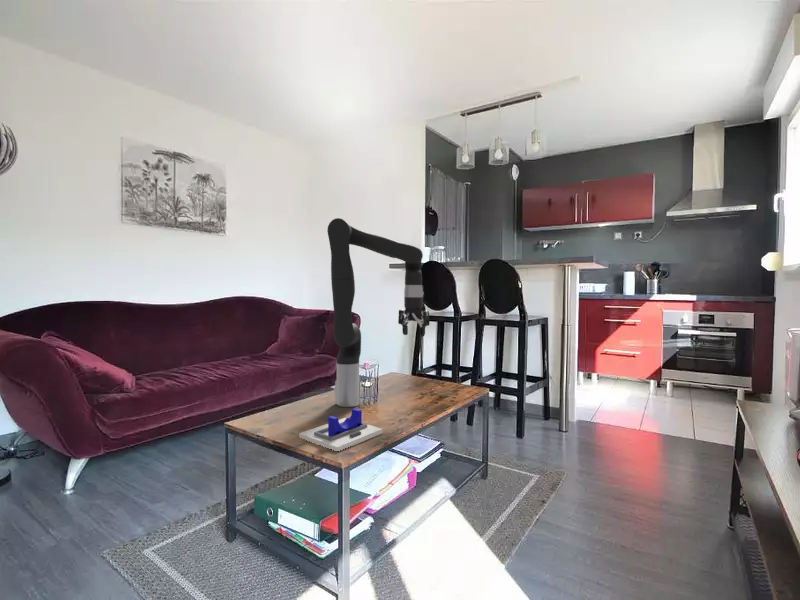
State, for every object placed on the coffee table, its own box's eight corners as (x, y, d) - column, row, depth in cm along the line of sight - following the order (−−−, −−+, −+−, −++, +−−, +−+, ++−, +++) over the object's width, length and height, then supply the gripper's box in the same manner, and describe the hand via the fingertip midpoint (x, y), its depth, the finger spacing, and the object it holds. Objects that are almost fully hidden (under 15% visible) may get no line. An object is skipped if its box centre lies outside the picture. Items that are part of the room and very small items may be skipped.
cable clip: (352, 424, 144) (352, 407, 143) (361, 427, 141) (361, 409, 141) (325, 434, 134) (325, 416, 134) (334, 438, 132) (334, 419, 131)
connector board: (299, 437, 136) (299, 430, 136) (344, 421, 151) (344, 415, 151) (337, 452, 124) (337, 443, 124) (382, 433, 140) (382, 425, 140)
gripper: (433, 296, 171) (433, 336, 171) (405, 295, 180) (405, 333, 180) (422, 296, 165) (422, 338, 166) (394, 296, 174) (394, 335, 175)
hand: (413, 335), depth 173 cm, fingers open, 8 cm apart
